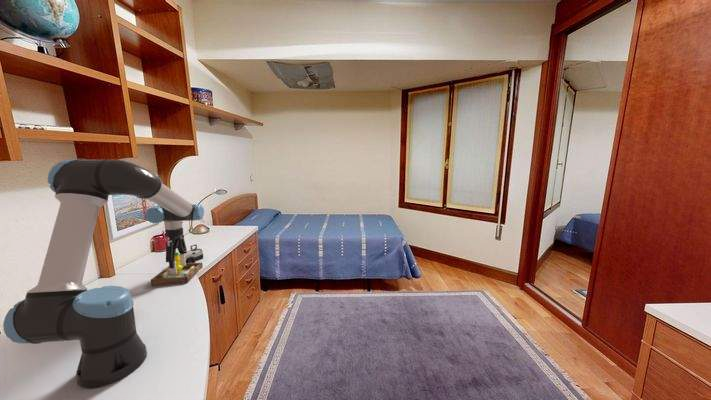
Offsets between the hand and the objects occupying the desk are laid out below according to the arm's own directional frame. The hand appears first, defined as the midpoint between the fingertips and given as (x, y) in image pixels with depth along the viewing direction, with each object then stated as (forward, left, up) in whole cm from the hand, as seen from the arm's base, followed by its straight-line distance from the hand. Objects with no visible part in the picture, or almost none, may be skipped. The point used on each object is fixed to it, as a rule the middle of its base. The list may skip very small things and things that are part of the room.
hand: (178, 269), depth 135 cm
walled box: (0, 0, -4) cm, 4 cm away
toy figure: (0, +1, -3) cm, 3 cm away
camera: (+19, +2, -4) cm, 20 cm away
